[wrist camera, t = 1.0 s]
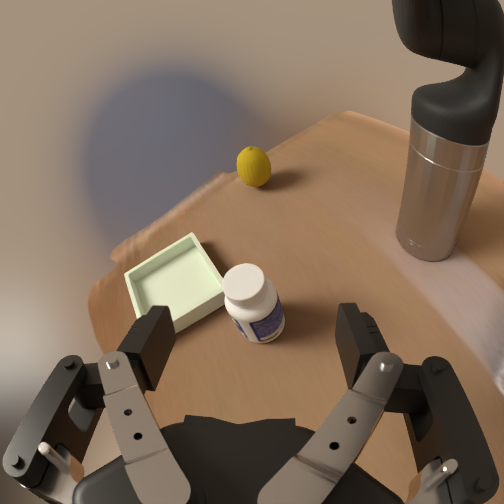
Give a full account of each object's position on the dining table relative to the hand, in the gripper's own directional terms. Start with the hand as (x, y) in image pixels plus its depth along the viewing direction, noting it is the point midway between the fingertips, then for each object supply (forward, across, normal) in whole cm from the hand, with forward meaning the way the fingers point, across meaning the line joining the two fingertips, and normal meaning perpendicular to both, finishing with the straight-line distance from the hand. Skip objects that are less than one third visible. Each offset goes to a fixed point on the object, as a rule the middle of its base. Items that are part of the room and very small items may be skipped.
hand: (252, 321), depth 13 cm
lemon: (+38, +1, 0) cm, 39 cm away
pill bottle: (+16, 0, +12) cm, 20 cm away
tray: (+22, +12, +11) cm, 27 cm away
